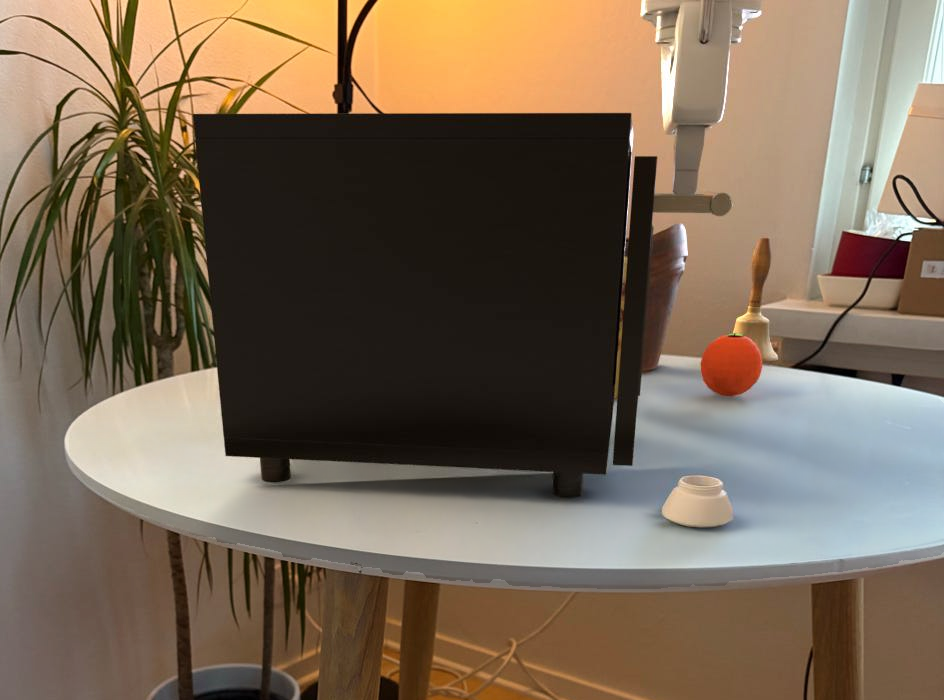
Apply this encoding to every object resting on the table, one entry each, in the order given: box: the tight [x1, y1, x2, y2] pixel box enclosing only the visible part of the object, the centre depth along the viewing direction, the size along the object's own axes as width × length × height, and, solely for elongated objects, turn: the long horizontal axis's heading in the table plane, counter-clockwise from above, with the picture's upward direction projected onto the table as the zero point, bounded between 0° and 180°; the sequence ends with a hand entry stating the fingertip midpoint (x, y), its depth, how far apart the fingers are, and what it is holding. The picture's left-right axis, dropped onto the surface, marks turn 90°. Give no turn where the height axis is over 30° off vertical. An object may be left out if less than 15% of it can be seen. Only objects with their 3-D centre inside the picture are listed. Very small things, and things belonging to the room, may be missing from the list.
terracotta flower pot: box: [625, 223, 689, 372], centre depth 129 cm, size 18×20×18 cm
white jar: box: [661, 475, 734, 529], centre depth 71 cm, size 5×3×5 cm
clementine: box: [700, 333, 763, 397], centre depth 114 cm, size 8×7×7 cm
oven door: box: [612, 155, 733, 467], centre depth 82 cm, size 7×28×21 cm, turn 171°
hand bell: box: [732, 236, 779, 363], centre depth 136 cm, size 8×8×16 cm
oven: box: [192, 112, 634, 499], centre depth 85 cm, size 30×30×26 cm
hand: (683, 195), depth 79 cm, fingers closed
